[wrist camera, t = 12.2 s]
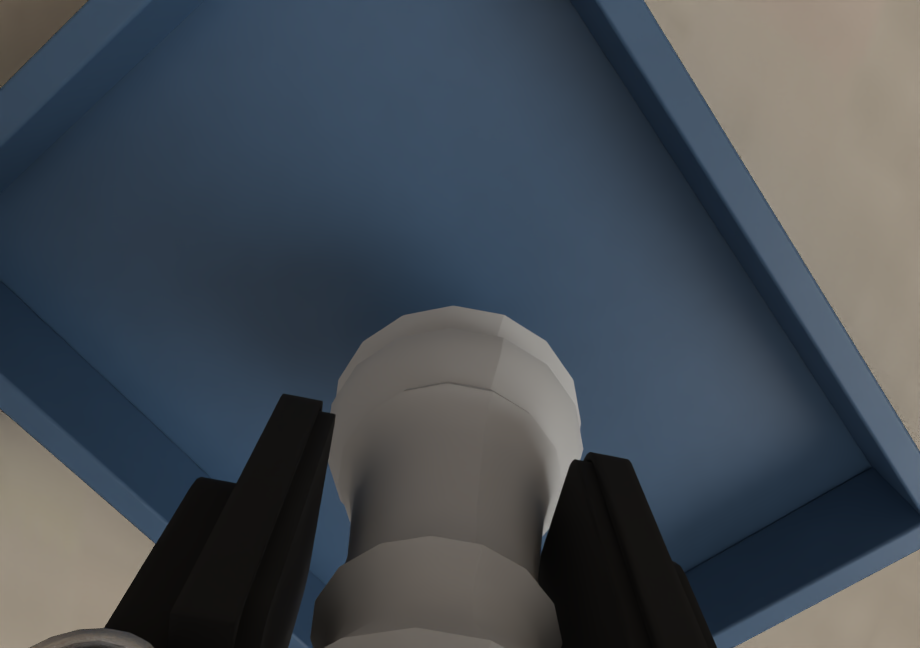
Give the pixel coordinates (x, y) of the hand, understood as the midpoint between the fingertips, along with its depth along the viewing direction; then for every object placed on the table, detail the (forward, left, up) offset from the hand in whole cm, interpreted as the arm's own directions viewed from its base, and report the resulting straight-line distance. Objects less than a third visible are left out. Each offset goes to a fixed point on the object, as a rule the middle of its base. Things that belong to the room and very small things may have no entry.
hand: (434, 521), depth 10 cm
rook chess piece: (0, 0, -4) cm, 4 cm away
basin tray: (0, 0, -6) cm, 6 cm away
